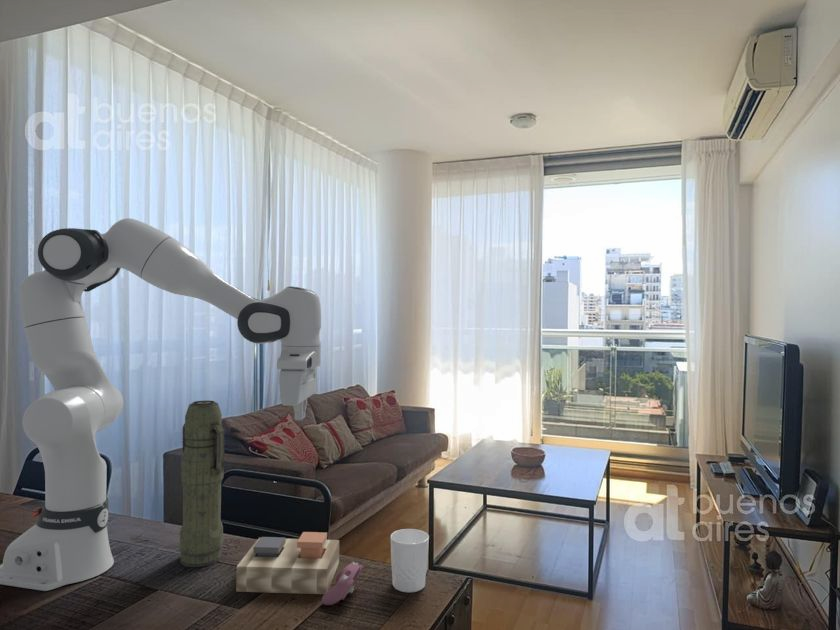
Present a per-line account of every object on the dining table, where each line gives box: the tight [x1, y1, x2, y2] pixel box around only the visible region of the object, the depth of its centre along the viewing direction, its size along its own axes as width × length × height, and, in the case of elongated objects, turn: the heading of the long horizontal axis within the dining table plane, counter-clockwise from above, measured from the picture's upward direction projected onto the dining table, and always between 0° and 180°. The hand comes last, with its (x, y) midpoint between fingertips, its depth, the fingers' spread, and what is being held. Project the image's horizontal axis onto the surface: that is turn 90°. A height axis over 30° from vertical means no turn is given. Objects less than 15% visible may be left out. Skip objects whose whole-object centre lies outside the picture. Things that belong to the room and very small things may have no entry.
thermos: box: [179, 400, 226, 568], centre depth 125 cm, size 9×12×35 cm
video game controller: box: [321, 561, 363, 606], centre depth 110 cm, size 10×5×7 cm, turn 170°
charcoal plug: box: [253, 536, 286, 557], centre depth 117 cm, size 5×5×7 cm
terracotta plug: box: [297, 531, 328, 559], centre depth 117 cm, size 5×5×7 cm
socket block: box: [235, 537, 340, 595], centre depth 117 cm, size 18×14×5 cm
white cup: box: [390, 528, 430, 593], centre depth 114 cm, size 8×8×10 cm
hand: (299, 419), depth 127 cm, fingers closed
